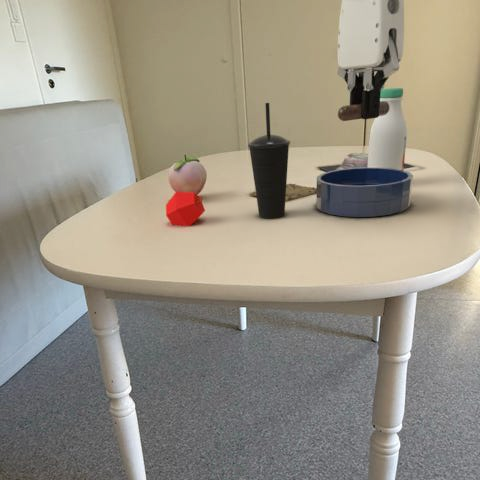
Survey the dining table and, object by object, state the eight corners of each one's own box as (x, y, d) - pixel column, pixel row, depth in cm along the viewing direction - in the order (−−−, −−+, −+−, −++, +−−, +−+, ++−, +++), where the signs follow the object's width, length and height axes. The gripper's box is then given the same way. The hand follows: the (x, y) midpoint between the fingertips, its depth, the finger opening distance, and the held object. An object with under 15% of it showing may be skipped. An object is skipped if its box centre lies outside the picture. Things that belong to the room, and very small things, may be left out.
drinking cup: (256, 224, 82) (249, 105, 73) (249, 214, 89) (242, 104, 80) (296, 220, 83) (294, 101, 74) (286, 210, 90) (283, 100, 80)
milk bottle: (397, 191, 97) (407, 88, 87) (362, 190, 100) (367, 90, 91) (405, 184, 102) (415, 86, 93) (371, 182, 106) (377, 88, 96)
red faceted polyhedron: (152, 200, 82) (189, 183, 79) (168, 198, 88) (202, 182, 86) (167, 235, 84) (203, 220, 81) (181, 231, 90) (216, 217, 87)
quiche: (352, 180, 110) (353, 163, 108) (316, 168, 127) (316, 154, 125) (424, 169, 115) (426, 153, 113) (380, 160, 132) (381, 145, 130)
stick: (382, 114, 76) (383, 100, 74) (391, 115, 74) (393, 100, 73) (334, 121, 72) (335, 106, 71) (343, 122, 70) (344, 106, 69)
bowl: (366, 192, 98) (367, 164, 95) (429, 208, 84) (433, 175, 81) (299, 207, 91) (298, 177, 89) (356, 226, 77) (357, 191, 75)
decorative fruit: (183, 194, 110) (177, 151, 105) (213, 195, 107) (209, 151, 102) (164, 204, 102) (157, 158, 97) (196, 205, 99) (190, 158, 94)
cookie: (287, 185, 109) (287, 181, 109) (323, 192, 100) (323, 188, 100) (248, 195, 103) (248, 191, 103) (282, 203, 94) (282, 198, 94)
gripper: (435, -35, 59) (419, 117, 68) (353, -11, 72) (349, 114, 80) (393, -36, 56) (382, 122, 65) (316, -11, 69) (315, 119, 78)
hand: (363, 117), depth 73 cm, fingers closed on stick, 2 cm apart
